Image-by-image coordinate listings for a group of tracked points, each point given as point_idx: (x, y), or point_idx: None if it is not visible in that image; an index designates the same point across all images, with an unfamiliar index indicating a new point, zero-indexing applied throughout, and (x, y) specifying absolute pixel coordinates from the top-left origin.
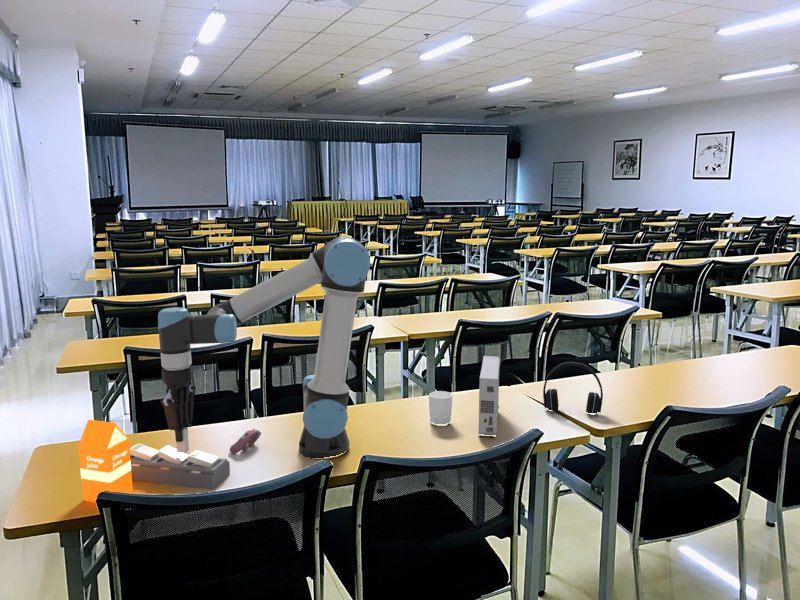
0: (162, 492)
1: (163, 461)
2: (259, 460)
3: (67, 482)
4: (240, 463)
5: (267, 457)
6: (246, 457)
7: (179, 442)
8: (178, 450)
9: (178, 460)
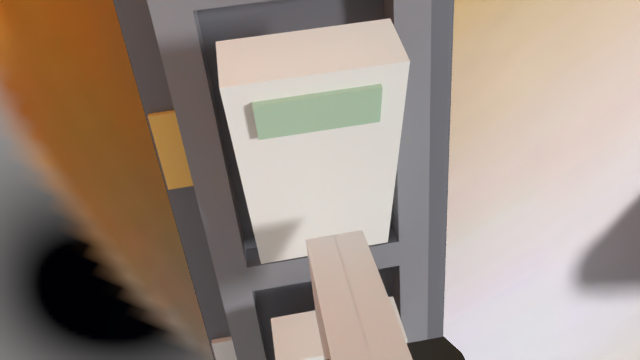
0: (64, 174)
1: (292, 18)
2: (597, 345)
3: None
4: (553, 297)
5: (633, 353)
6: (630, 279)
7: (326, 348)
8: (310, 266)
9: (257, 247)
